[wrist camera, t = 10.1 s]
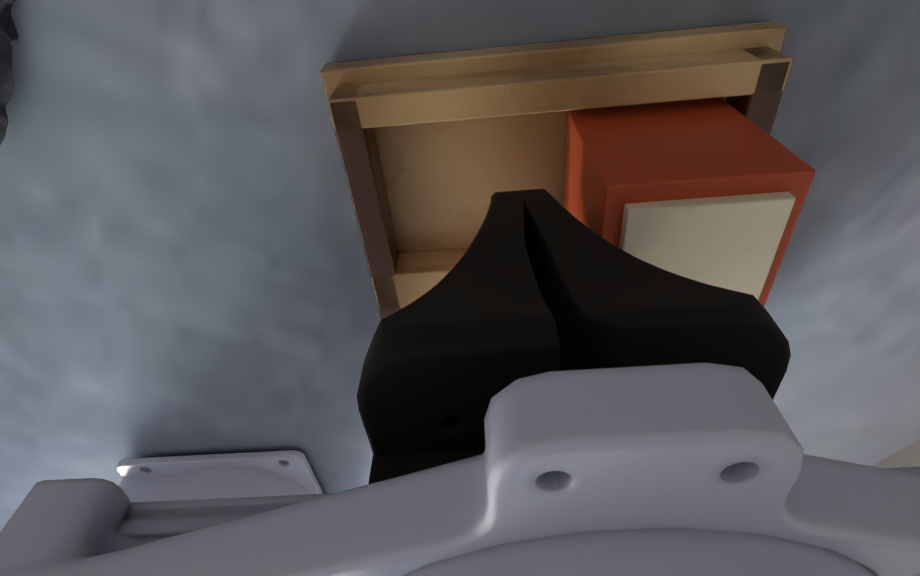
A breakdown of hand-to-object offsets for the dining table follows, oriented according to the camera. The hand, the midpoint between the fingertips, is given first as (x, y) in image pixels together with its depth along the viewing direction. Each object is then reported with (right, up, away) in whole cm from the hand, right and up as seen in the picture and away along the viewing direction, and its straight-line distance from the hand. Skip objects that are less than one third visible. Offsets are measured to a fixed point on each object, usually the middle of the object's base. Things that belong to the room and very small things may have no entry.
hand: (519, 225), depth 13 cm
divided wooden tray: (+1, 0, +4) cm, 5 cm away
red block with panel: (+3, +2, +2) cm, 5 cm away
